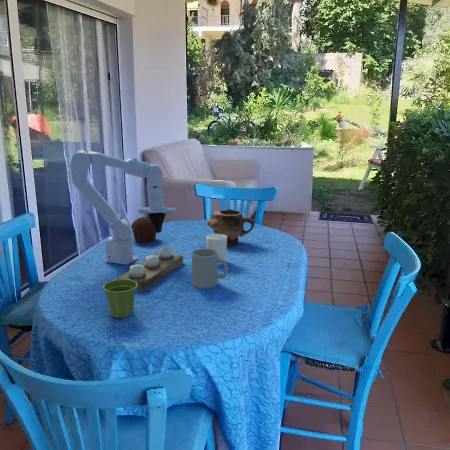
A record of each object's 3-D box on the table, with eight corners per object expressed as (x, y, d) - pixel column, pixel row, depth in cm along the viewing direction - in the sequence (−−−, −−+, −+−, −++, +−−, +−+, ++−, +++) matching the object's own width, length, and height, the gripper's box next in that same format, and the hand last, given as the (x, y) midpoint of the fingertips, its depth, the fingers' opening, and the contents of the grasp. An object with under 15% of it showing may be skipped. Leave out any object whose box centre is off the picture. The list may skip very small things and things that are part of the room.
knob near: (127, 276, 146) (127, 267, 145) (134, 272, 150) (134, 263, 149) (139, 278, 144) (139, 269, 143) (146, 274, 148) (146, 264, 147)
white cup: (224, 266, 165) (224, 240, 162) (203, 264, 167) (203, 238, 164) (228, 259, 172) (229, 234, 170) (208, 257, 174) (208, 233, 171)
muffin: (145, 235, 203) (144, 213, 200) (163, 239, 197) (163, 217, 194) (125, 241, 194) (124, 218, 191) (144, 246, 188) (143, 222, 185)
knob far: (157, 257, 164) (157, 249, 163) (163, 254, 168) (163, 246, 167) (168, 259, 162) (168, 250, 161) (174, 255, 166) (173, 247, 165)
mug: (188, 287, 146) (188, 255, 143) (196, 277, 154) (196, 247, 151) (224, 291, 143) (224, 258, 140) (230, 281, 151) (231, 250, 148)
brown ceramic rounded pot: (254, 240, 197) (255, 209, 194) (253, 248, 186) (254, 216, 182) (209, 238, 199) (209, 207, 195) (205, 246, 187) (205, 214, 184)
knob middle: (143, 266, 155) (143, 257, 154) (149, 262, 159) (149, 254, 158) (154, 268, 153) (154, 259, 152) (161, 264, 157) (160, 255, 156)
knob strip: (117, 286, 146) (117, 277, 145) (159, 259, 171) (159, 251, 170) (144, 291, 142) (144, 281, 142) (183, 263, 168) (183, 255, 167)
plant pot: (107, 306, 131) (105, 279, 129) (140, 306, 132) (139, 278, 130) (101, 321, 122) (99, 292, 120) (136, 320, 123) (135, 291, 121)
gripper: (132, 199, 165) (136, 234, 169) (169, 199, 161) (172, 235, 165) (141, 194, 171) (144, 229, 175) (176, 195, 167) (179, 230, 171)
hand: (158, 232), depth 170 cm, fingers closed
